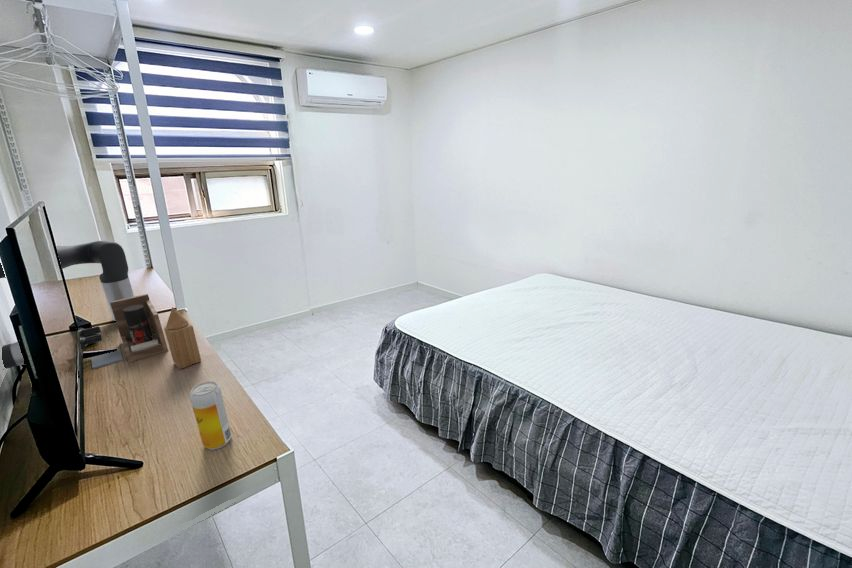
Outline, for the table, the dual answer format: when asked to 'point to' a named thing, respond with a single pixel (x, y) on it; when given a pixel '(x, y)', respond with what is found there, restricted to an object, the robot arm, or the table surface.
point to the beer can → (210, 415)
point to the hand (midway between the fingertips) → (100, 332)
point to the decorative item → (181, 340)
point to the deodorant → (137, 324)
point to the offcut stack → (144, 345)
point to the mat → (106, 359)
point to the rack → (152, 320)
